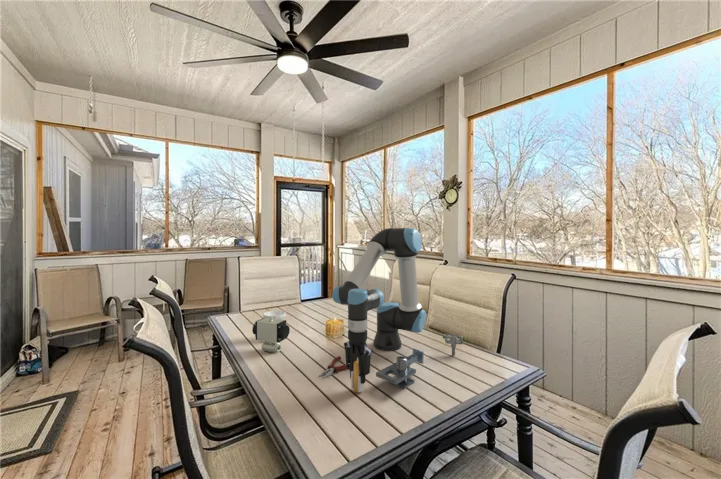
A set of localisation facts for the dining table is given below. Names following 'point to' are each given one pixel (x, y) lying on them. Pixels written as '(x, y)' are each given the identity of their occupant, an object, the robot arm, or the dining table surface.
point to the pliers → (334, 368)
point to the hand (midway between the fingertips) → (357, 388)
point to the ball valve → (271, 333)
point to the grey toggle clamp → (402, 369)
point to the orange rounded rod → (356, 375)
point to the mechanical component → (453, 341)
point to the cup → (275, 314)
